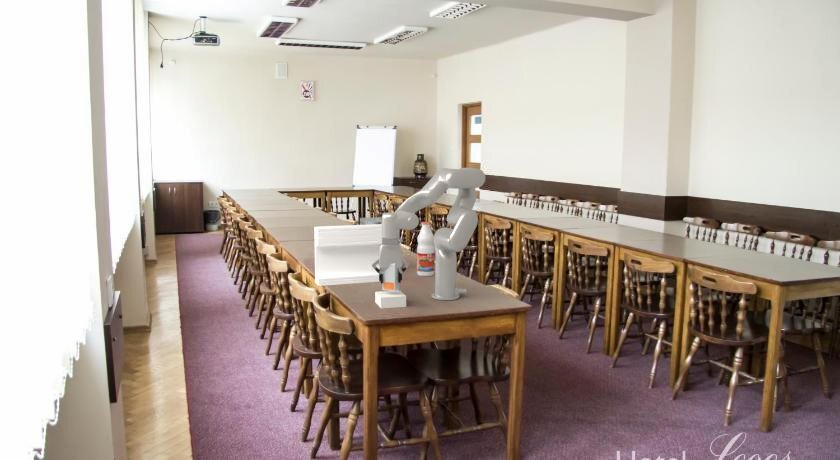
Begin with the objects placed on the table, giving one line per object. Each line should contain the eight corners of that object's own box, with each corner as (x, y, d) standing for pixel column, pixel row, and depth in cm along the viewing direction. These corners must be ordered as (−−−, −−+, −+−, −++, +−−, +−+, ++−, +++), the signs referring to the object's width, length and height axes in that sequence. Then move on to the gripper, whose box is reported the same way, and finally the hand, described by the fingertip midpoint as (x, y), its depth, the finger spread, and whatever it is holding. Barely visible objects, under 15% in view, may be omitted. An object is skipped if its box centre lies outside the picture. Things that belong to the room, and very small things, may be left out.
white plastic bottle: (431, 272, 342) (431, 220, 339) (436, 276, 334) (437, 223, 330) (414, 273, 340) (414, 221, 336) (419, 277, 331) (420, 223, 327)
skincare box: (382, 290, 273) (382, 262, 271) (386, 288, 277) (386, 261, 275) (395, 291, 271) (395, 264, 269) (399, 289, 275) (399, 262, 273)
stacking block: (399, 301, 281) (399, 290, 281) (406, 307, 271) (406, 296, 270) (375, 302, 278) (375, 291, 278) (380, 309, 268) (380, 297, 267)
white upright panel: (382, 277, 328) (382, 224, 325) (387, 281, 321) (387, 225, 317) (315, 282, 317) (314, 226, 313) (318, 285, 309) (317, 228, 305)
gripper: (409, 240, 276) (409, 280, 278) (369, 240, 273) (369, 281, 276) (412, 242, 269) (411, 284, 271) (370, 243, 266) (370, 285, 268)
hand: (390, 282), depth 273 cm, fingers closed on skincare box, 7 cm apart
